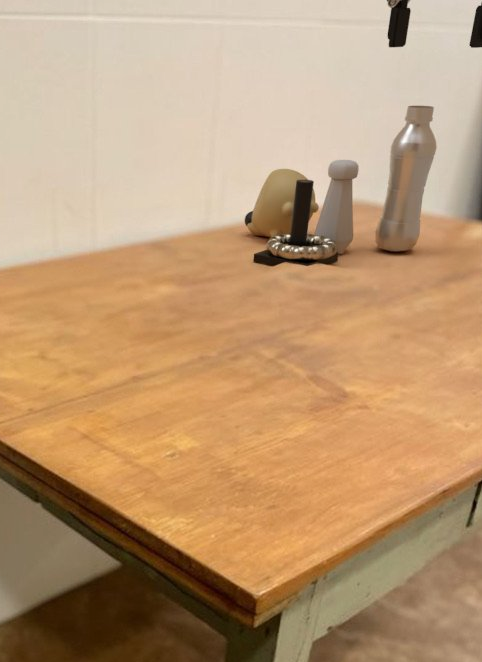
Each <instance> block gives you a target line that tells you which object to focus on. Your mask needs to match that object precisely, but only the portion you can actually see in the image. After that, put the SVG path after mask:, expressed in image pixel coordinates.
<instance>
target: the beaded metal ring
mask: <svg viewBox="0 0 482 662" xmlns="http://www.w3.org/2000/svg"><path fill="white" fill-rule="evenodd" d="M289 241H290V234H280V235H277V236H274V237H271V238H270V237H269V238H268V240H267V243H266V247H265V250H267V251H268V253H270V254H272V255H274V256H276V257H278V258H283V259H288V260H297V261H315V260H323V259H326V258H329V257H332V256H333V255H334V254H335V253H336V243H335V241H334V240H332V239H329V238H327V237H325V236H320V235H315V234H313V233H307V239H306V246H294V245H289Z"/></svg>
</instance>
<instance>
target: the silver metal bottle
mask: <svg viewBox="0 0 482 662" xmlns="http://www.w3.org/2000/svg"><path fill="white" fill-rule="evenodd" d="M434 109H435V106H431V105H407V108H406V114H405V116H404V121H405V125H404V127H402V128H401V130H400V131H399V132H398V133H397V134H396V136H395V137H394V139H393V141H392V143H391V145H390V151H389V153H390V155H389V170H388V171H389V173H388V180H387V188H386V195H385V199H384V203H383V207H382V211H381V215H380V218H379V220H378V223H377V226H376V228H375V243H376V246H377V247H378V248H379V249H381V250H385V251H388V252H392V253H397V252H406V251H411V250H413V248H414V247H415V246H417V243H418V241H419V239H420V235H421V213H422V207H423V206H422V205H423V196H424V193H425V187H426V186H427V180H428V177H429V173H430V170H431V167H432V165H433V162H434V158H435V155H436V152H437V148H438V147H437V140H436V137H435V135H434V132H433V130H432V128H431V125H430V124H431V122H433V119H434V117H433V116H434Z"/></svg>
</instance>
